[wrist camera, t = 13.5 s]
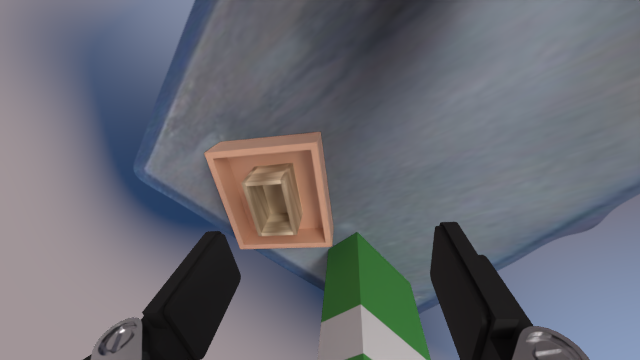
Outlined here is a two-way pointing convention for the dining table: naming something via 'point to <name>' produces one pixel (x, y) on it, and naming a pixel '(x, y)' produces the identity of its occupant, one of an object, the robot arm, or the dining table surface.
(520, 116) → the dining table surface
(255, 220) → the pine crate
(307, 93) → the dining table surface
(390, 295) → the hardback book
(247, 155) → the terracotta crate
